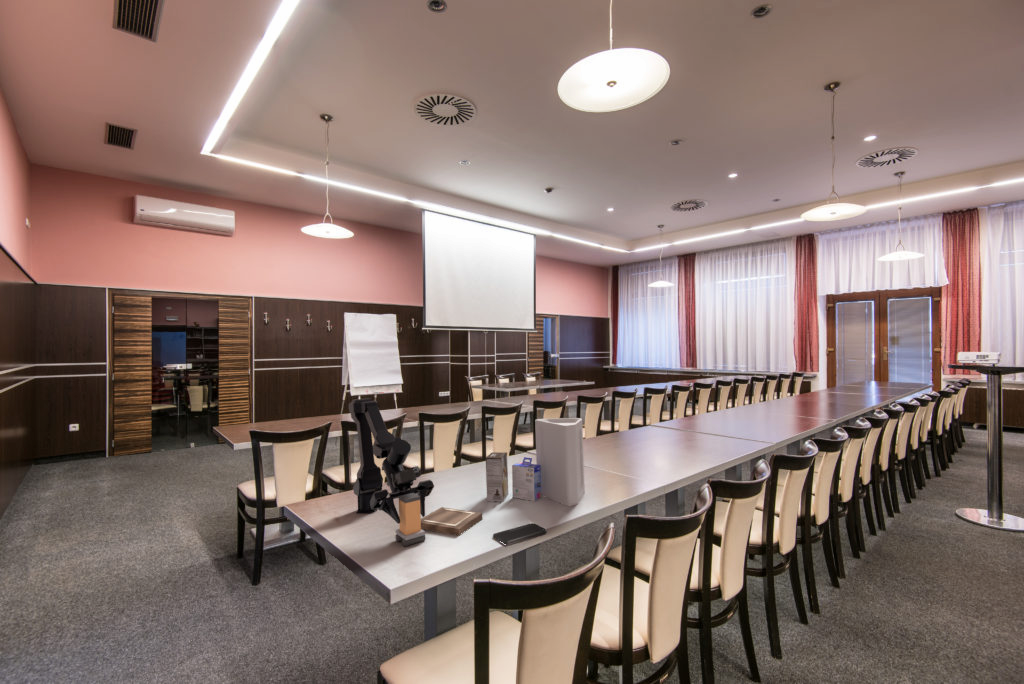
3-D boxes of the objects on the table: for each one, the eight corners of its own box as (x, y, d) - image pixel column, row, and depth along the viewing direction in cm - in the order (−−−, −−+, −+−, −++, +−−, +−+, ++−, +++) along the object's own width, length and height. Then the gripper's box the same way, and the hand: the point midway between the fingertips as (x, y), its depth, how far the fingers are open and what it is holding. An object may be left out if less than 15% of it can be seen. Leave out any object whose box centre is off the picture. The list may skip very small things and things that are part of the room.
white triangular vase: (599, 498, 165) (597, 421, 165) (568, 506, 157) (565, 425, 157) (566, 485, 181) (564, 415, 181) (536, 492, 173) (534, 419, 173)
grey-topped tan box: (395, 540, 133) (394, 495, 133) (415, 534, 137) (414, 491, 137) (405, 547, 127) (404, 501, 128) (425, 541, 131) (424, 496, 131)
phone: (548, 530, 134) (505, 543, 127) (548, 534, 134) (505, 547, 127) (533, 522, 141) (491, 533, 133) (533, 526, 141) (491, 537, 133)
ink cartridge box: (542, 497, 167) (541, 458, 168) (535, 501, 163) (534, 461, 163) (519, 493, 173) (518, 455, 173) (512, 497, 168) (510, 458, 168)
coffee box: (492, 493, 174) (491, 451, 174) (508, 494, 172) (507, 452, 173) (486, 501, 165) (485, 457, 165) (503, 502, 163) (502, 457, 164)
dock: (416, 528, 142) (415, 521, 142) (441, 513, 154) (441, 506, 154) (459, 535, 135) (459, 528, 135) (482, 519, 147) (482, 512, 147)
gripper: (372, 464, 130) (388, 512, 121) (430, 453, 141) (449, 497, 132) (363, 485, 136) (378, 533, 127) (420, 473, 147) (437, 517, 138)
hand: (411, 519), depth 131 cm, fingers open, 7 cm apart
